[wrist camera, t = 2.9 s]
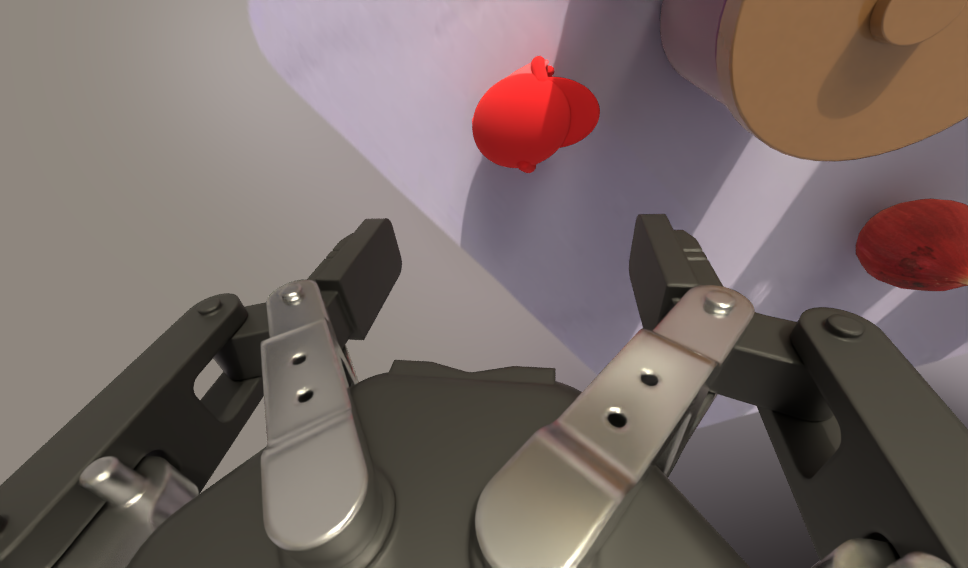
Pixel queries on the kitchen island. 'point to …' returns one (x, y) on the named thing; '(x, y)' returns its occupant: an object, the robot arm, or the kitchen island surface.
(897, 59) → the jar
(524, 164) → the cap
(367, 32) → the kitchen island surface
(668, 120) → the kitchen island surface
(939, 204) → the onion
